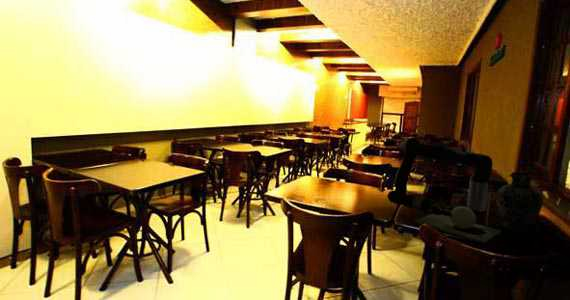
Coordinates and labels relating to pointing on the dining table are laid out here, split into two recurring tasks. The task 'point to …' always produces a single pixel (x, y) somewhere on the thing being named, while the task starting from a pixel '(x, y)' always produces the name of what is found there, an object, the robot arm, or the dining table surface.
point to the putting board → (446, 225)
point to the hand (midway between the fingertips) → (455, 213)
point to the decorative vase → (519, 202)
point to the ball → (462, 217)
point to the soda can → (458, 200)
